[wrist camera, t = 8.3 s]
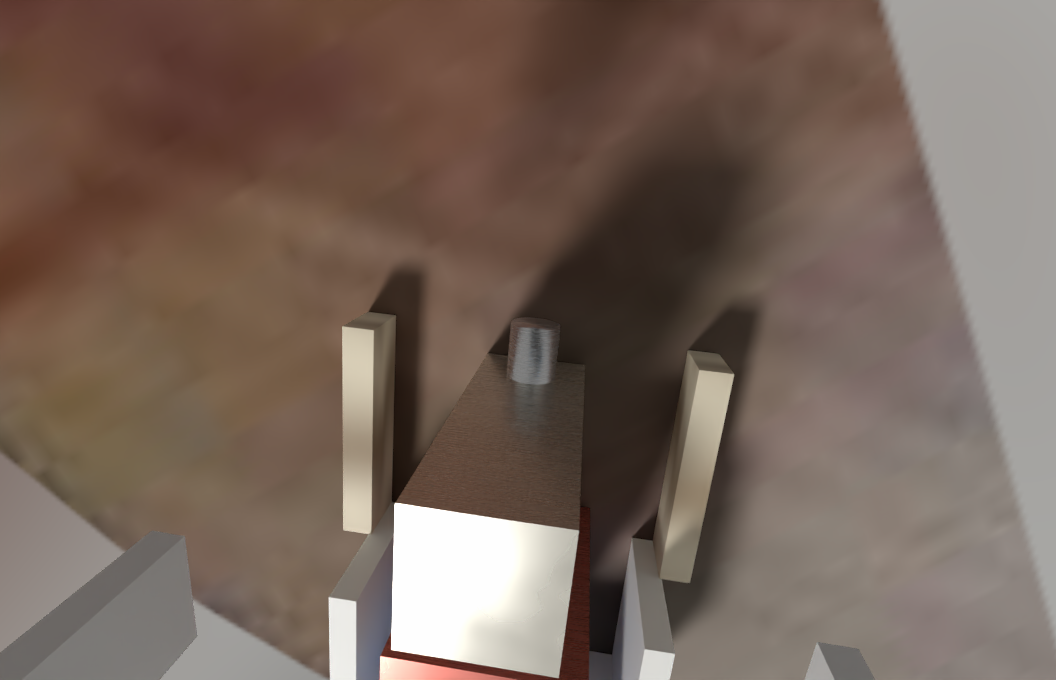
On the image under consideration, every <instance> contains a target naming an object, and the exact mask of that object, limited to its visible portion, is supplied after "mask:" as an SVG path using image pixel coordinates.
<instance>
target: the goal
mask: <svg viewBox="0 0 1056 680" xmlns="http://www.w3.org/2000/svg"><path fill="white" fill-rule="evenodd" d="M394 528H395V502H391V504H390V506H389V507H388V509H387V510H386V512H385V513H384V515H383V517H382V518H381V520H380V521H379V523H378V525H377V526H376V528H375V529H374V531H373V533H372V534H369V535H368V536H367V538H366V539H365V541H364V543H363V544H362V546H361V547H360V549H359V550H358V552H357V554H356V555H355V557H354V558H353V560H352V561H351V563H350V565H349V566H348V568H347V569H346V571H345V572H344V574H343V576H342V577H341V579H340V580H339V582H338V583H337V585H336V587H335V588H334V590H333V591H332V593H331V594H330V596H329V644H330V680H380V656H381V653H382V651H383V649H384V647H385V644H386V642H387V640H388V638H389V636H390V633H391V631H392V605H393V567H394ZM674 657H675V651H674V646H673V640H672V634H671V629H670V623H669V617H668V612H667V606H666V601H665V595H664V589H663V584H662V579H659V575H658V569H657V563H656V557H655V552H654V546H653V541H651V540H644V539H637V538H632V541H631V546H630V552H629V558H628V564H627V570H626V576H625V581H624V587H623V593H622V599H621V605H620V611H619V616H618V622H617V628H616V634H615V640H614V645H613V651H612V655H611V654H605V653H599V652H593V651H589V680H670V675H671V671H672V666H673V661H674Z"/></svg>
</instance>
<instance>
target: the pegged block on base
mask: <svg viewBox="0 0 1056 680" xmlns="http://www.w3.org/2000/svg"><path fill="white" fill-rule="evenodd" d="M560 328H561V326H560V324H558V323H557V322H554V321H551V320H548V319H542V318H534V317H522V318H516V319H513V320H512V321H511V329H510V341H509V352H508V356H507V355H499V354H491V353H487V355H486V357H485V358H484V360H483V362H482V363H481V365H480V366H479V368H478V370H477V371H476V373H475V375H474V376H473V378H472V379H471V381H470V383H469V384H468V386H467V388H466V389H465V391H464V392H463V394H462V396H461V397H460V399H459V401H458V402H457V404H456V405H455V407H454V409H453V410H452V412H451V413H450V415H449V417H448V418H447V420H446V422H445V423H444V425H443V426H442V428H441V430H440V431H439V433H438V435H437V436H436V438H435V439H434V441H433V443H432V444H431V446H430V448H429V449H428V451H427V452H426V454H425V456H424V457H423V459H422V461H421V462H420V464H419V465H418V467H417V469H416V470H415V472H414V474H413V475H412V477H411V478H410V480H409V482H408V483H407V485H406V486H405V488H404V490H403V491H402V493H401V495H400V496H399V498H398V499H397V501H396V503H395V528H394V567H393V605H392V631H391V633H390V636H389V638H388V640H387V642H386V644H385V647H384V649H383V651H382V653H381V656H380V680H589V570H590V508H585V507H580V492H581V464H582V437H583V409H584V381H585V365H580V364H572V363H564V362H557V355H558V346H559V337H560Z"/></svg>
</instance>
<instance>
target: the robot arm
mask: <svg viewBox="0 0 1056 680" xmlns="http://www.w3.org/2000/svg"><path fill="white" fill-rule="evenodd" d="M196 637H197V631H196V624H195V615H194V607H193V599H192V591H191V583H190V575H189V567H188V559H187V551H186V543H185V536H180V535H174V534H168V533H162V532H156V531H151V532H150V533H148V534H147V535H146V536H145V537H143V538H142V539H141V540H140V541H138V542H137V543H136V544H135V545H133V546H132V547H131V548H130V549H128V550H127V551H126V552H125V553H123V554H122V555H121V556H120V557H119V558H117V559H116V560H115V561H114V562H112V563H111V564H110V565H109V566H107V567H106V568H105V569H104V570H102V571H101V572H100V573H99V574H97V575H96V576H95V577H94V578H93V579H91V580H90V581H89V582H87V583H86V584H85V585H84V586H82V587H81V588H80V589H79V590H77V591H76V592H75V593H74V594H72V595H71V596H70V597H69V598H68V599H66V600H65V601H64V602H63V603H61V604H60V605H59V606H58V607H56V608H55V609H54V610H53V611H51V612H50V613H49V614H48V615H46V616H45V617H44V618H43V619H42V620H40V621H39V622H38V623H36V624H35V625H34V626H33V627H31V628H30V629H29V630H28V631H26V632H25V633H24V634H23V635H22V636H20V637H19V638H18V639H17V640H16V641H14V642H13V643H12V644H10V645H9V646H8V647H7V648H5V649H4V650H3V651H2V652H0V680H160V679H161V678H162V676H163V675H164V674H165V673H166V671H168V669H169V668H170V667H171V666H172V665H173V664H174V662H175V661H176V660H177V659H178V658H179V657H180V655H181V654H182V653H183V652H184V651H185V650H186V649H187V647H188V646H189V645H190V644H191V643H192V642H193V640H194V639H195V638H196ZM805 680H875V679H874V677H873V675H872V673H871V671H870V669H869V667H868V666H867V664H866V662H865V660H864V658H863V656H862V654H861V653H860V651H859V649H856V648H850V647H844V646H838V645H832V644H826V643H820V642H817V644H816V647H815V650H814V653H813V656H812V659H811V662H810V665H809V668H808V671H807V675H806V678H805Z"/></svg>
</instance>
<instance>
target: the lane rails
mask: <svg viewBox="0 0 1056 680" xmlns="http://www.w3.org/2000/svg"><path fill="white" fill-rule="evenodd" d="M395 342H396V315H389V314H381V313H373V312H367V313H365V314H363V315H362V316H360V317H358V318H356V319H355V320H353V321H351V322H349V323H348V324H346V325H344V326H342V353H343V530H346V531H352V532H359V533H365V534H372V533H373V531H374V529H375V528H376V526H377V525H378V523H379V521H380V520H381V518H382V517H383V515H384V513H385V512H386V510H387V509H388V507H389V506H390V504H391V502H392V468H393V426H394V384H395ZM733 378H734V373H733V372H732V370H731V369H730V368H729V367H728V365H727V364H726V363H725V361H724V360H723V359H722V357H721V356H720V355H719V354H716V353H708V352H700V351H691V350H688V352H687V357H686V363H685V368H684V373H683V379H682V384H681V390H680V395H679V401H678V406H677V411H676V417H675V422H674V428H673V433H672V438H671V444H670V449H669V455H668V460H667V466H666V471H665V476H664V482H663V487H662V493H661V498H660V504H659V509H658V514H657V520H656V525H655V531H654V536H653V546H654V552H655V557H656V563H657V569H658V575H659V579H665V580H671V581H678V582H684V583H690V580H691V576H692V571H693V566H694V562H695V557H696V552H697V547H698V543H699V538H700V533H701V529H702V524H703V519H704V515H705V510H706V505H707V500H708V496H709V491H710V486H711V482H712V477H713V472H714V468H715V463H716V458H717V454H718V449H719V444H720V439H721V435H722V430H723V425H724V421H725V416H726V411H727V407H728V402H729V397H730V392H731V388H732V383H733Z"/></svg>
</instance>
